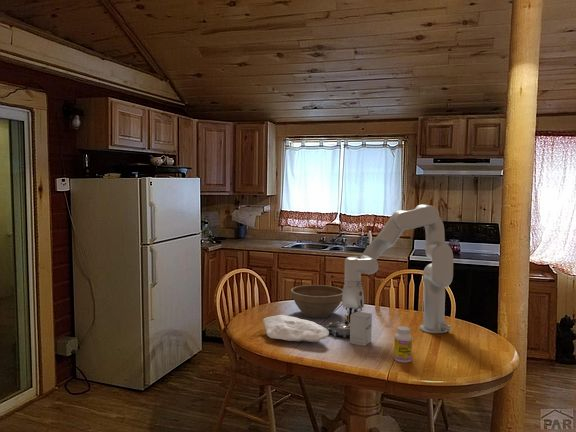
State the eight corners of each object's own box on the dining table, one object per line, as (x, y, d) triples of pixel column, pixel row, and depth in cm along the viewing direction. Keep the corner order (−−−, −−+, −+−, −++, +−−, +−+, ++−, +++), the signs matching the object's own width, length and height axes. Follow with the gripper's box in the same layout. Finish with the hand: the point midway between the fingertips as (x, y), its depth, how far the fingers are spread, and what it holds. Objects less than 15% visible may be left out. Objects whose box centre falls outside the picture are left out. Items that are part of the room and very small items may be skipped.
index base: (353, 332, 218) (353, 330, 218) (346, 335, 215) (346, 333, 215) (330, 325, 229) (330, 323, 229) (323, 327, 225) (323, 325, 225)
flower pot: (316, 304, 269) (316, 281, 268) (355, 315, 248) (355, 290, 247) (279, 313, 250) (279, 289, 249) (318, 325, 229) (318, 299, 228)
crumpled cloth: (282, 321, 231) (281, 303, 229) (344, 335, 210) (342, 316, 208) (251, 341, 213) (248, 322, 211) (314, 358, 192) (313, 337, 190)
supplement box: (365, 346, 200) (365, 317, 199) (349, 343, 204) (349, 314, 203) (371, 341, 206) (372, 313, 205) (356, 338, 210) (356, 310, 209)
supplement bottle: (396, 363, 182) (396, 330, 181) (392, 356, 188) (393, 325, 187) (413, 363, 182) (414, 330, 181) (409, 356, 188) (409, 325, 187)
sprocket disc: (365, 326, 226) (366, 314, 225) (365, 338, 208) (365, 325, 207) (328, 324, 229) (328, 312, 228) (324, 335, 211) (324, 322, 211)
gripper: (370, 284, 218) (370, 323, 219) (344, 280, 229) (344, 317, 230) (360, 287, 213) (360, 327, 214) (335, 282, 223) (334, 320, 225)
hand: (352, 322), depth 222 cm, fingers closed
